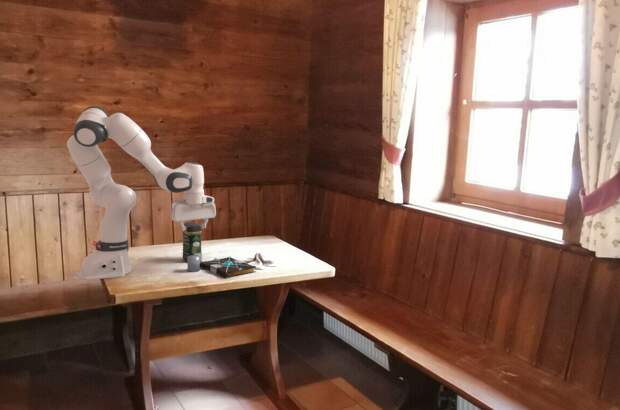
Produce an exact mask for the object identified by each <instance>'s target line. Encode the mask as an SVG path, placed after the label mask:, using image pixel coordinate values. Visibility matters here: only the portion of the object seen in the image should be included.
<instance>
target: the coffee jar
mask: <svg viewBox="0 0 620 410" xmlns="http://www.w3.org/2000/svg"><path fill="white" fill-rule="evenodd" d="M183 224H184V226H186V227H187V228H186V229H187V230H186V231H182V260H184V261H185V262H187V263H188V256H190V255H198V256H200V261H203V260H202V257H203V256H202V233H203V232H202V231H203V229H202V228H201V224H198V223H197V222H193V221H184V223H183Z"/></svg>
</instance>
